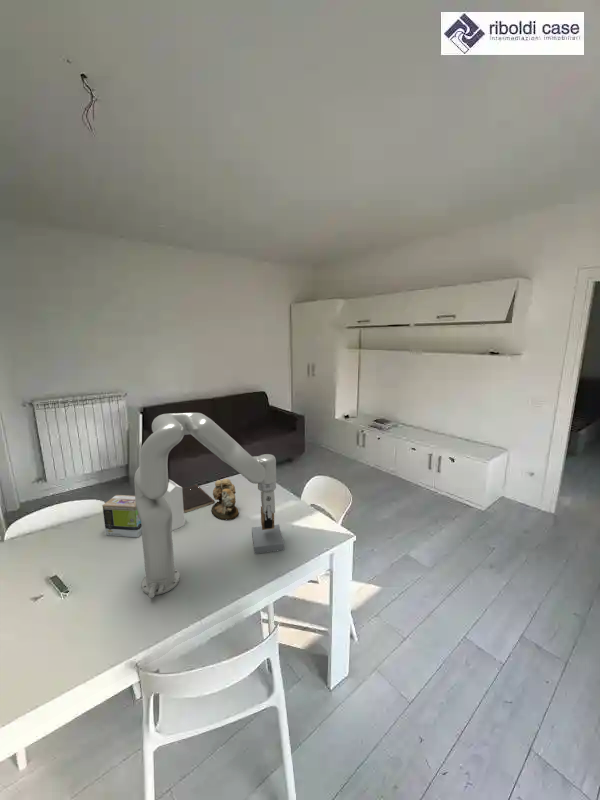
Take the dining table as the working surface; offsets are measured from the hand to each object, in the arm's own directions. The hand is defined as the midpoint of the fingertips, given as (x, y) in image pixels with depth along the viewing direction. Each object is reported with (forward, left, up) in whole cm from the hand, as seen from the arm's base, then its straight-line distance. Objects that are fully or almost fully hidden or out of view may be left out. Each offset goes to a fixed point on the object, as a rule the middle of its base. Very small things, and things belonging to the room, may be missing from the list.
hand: (267, 523), depth 143 cm
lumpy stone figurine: (+28, +18, -9) cm, 34 cm away
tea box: (+20, +60, -9) cm, 64 cm away
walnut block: (0, 0, -1) cm, 1 cm away
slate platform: (0, 0, -9) cm, 9 cm away
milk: (+20, +40, -9) cm, 46 cm away
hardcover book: (+44, +35, -9) cm, 57 cm away
